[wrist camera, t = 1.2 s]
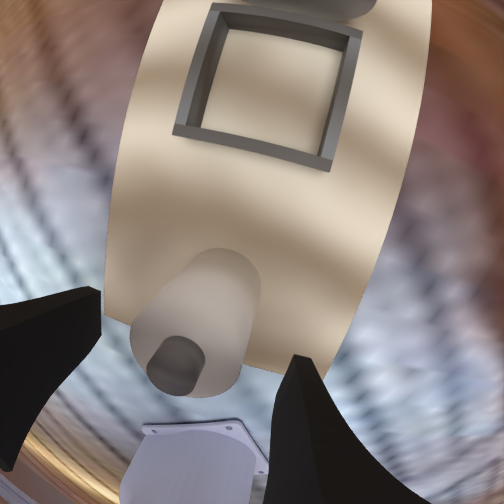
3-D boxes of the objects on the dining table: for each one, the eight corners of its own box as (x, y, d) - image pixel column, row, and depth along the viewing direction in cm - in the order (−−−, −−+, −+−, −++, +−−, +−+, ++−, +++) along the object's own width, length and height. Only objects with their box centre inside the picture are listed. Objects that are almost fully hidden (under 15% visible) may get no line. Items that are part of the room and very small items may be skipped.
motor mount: (320, 372, 17) (326, 470, 10) (111, 307, 18) (42, 371, 11) (426, -30, 9) (470, -88, 1) (210, -73, 9) (176, -138, 2)
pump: (203, 327, 16) (152, 422, 9) (172, 262, 15) (92, 333, 8) (272, 309, 15) (254, 414, 8) (243, 237, 14) (198, 307, 7)
